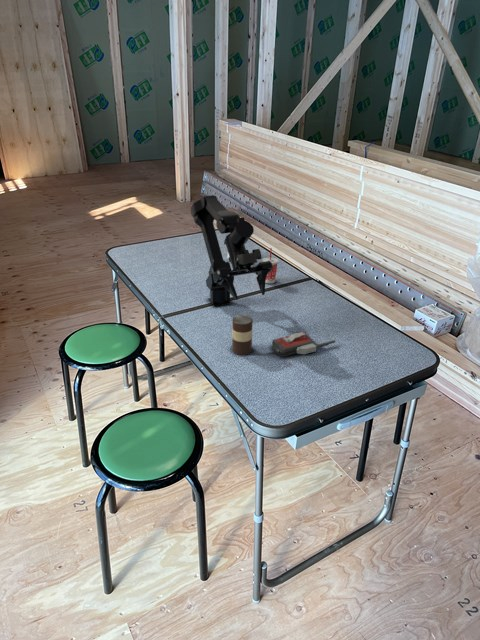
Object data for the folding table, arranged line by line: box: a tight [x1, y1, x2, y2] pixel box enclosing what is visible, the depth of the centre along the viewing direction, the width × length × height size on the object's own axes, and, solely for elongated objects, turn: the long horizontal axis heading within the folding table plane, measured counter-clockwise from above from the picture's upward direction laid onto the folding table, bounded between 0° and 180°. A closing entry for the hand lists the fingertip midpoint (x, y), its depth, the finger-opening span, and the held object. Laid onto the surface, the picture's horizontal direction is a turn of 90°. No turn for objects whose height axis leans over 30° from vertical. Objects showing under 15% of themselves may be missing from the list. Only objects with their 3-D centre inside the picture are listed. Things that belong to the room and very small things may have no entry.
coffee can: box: [231, 314, 254, 356], centre depth 148 cm, size 6×6×11 cm
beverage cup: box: [262, 247, 279, 284], centre depth 193 cm, size 6×6×14 cm
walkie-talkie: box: [271, 331, 336, 357], centre depth 151 cm, size 9×4×20 cm
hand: (250, 297), depth 152 cm, fingers open, 9 cm apart
